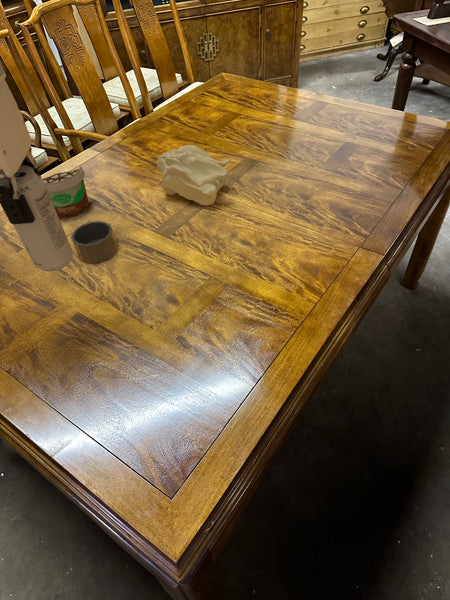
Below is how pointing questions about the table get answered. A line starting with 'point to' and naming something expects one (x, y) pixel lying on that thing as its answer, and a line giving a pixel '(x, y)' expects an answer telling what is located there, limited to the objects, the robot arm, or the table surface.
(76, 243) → the can holder
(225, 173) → the folded clay sculpture
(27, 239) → the energy drink can
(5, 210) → the robot arm
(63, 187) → the food container
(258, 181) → the table surface
